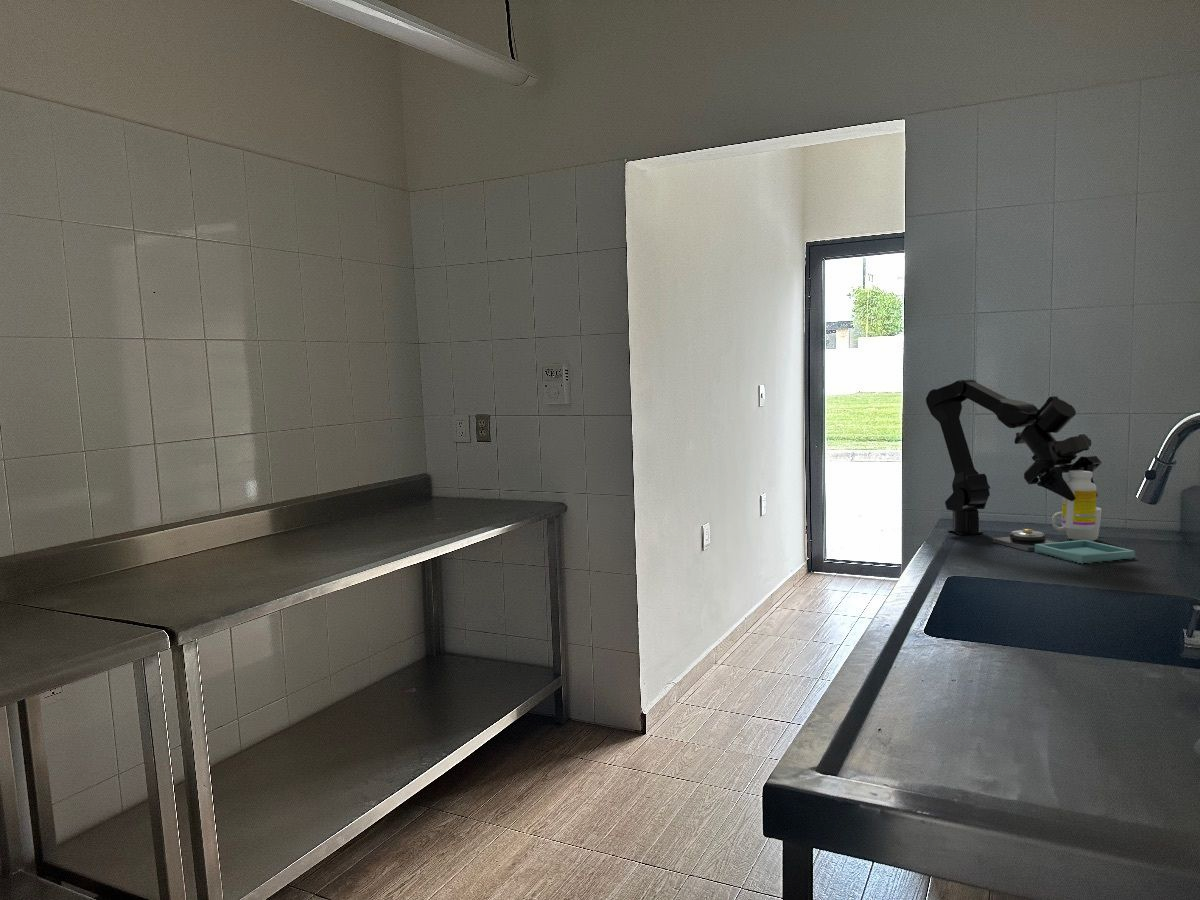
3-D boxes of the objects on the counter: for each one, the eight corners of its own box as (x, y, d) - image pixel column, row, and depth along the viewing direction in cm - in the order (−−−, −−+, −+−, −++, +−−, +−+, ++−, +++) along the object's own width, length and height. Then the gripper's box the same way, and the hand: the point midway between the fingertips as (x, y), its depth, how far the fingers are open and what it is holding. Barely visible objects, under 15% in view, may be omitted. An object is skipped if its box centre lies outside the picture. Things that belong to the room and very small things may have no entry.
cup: (1055, 542, 209) (1055, 510, 208) (1048, 536, 216) (1048, 505, 215) (1105, 543, 205) (1105, 510, 205) (1096, 537, 213) (1096, 505, 212)
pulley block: (992, 542, 211) (992, 527, 211) (1027, 539, 213) (1027, 524, 213) (1027, 551, 199) (1028, 535, 199) (1063, 548, 202) (1064, 532, 201)
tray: (1034, 551, 198) (1034, 544, 198) (1084, 547, 202) (1084, 539, 202) (1081, 564, 185) (1082, 556, 185) (1134, 558, 188) (1135, 550, 188)
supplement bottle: (1101, 529, 191) (1104, 472, 190) (1081, 531, 188) (1084, 473, 187) (1074, 524, 197) (1077, 469, 196) (1054, 526, 194) (1057, 470, 193)
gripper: (1035, 425, 191) (1078, 479, 181) (1095, 421, 197) (1139, 473, 188) (1006, 457, 199) (1045, 510, 189) (1064, 452, 205) (1105, 503, 196)
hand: (1084, 498), depth 191 cm, fingers closed on supplement bottle, 7 cm apart
